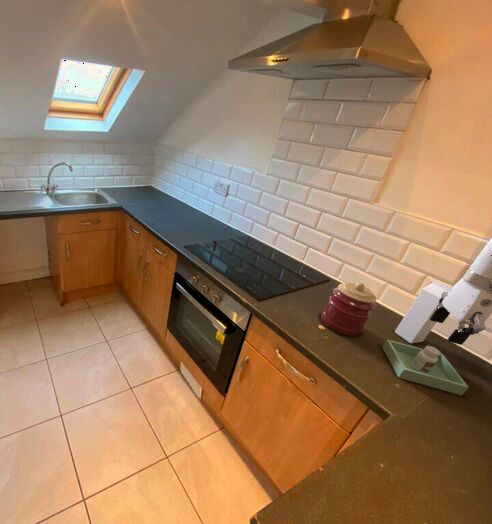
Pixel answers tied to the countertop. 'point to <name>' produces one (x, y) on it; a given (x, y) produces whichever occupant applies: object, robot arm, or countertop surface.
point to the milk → (421, 313)
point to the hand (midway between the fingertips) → (444, 331)
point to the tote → (437, 377)
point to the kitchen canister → (349, 308)
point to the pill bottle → (425, 359)
